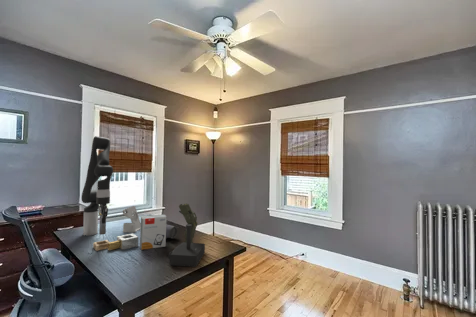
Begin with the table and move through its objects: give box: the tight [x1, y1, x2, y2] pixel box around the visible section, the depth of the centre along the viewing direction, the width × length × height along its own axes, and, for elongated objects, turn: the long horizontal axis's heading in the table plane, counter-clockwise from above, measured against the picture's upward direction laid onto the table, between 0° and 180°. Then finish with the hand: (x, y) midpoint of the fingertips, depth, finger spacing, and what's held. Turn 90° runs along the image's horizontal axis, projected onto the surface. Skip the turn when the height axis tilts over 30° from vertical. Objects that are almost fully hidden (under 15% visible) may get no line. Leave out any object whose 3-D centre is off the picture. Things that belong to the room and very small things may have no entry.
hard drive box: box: [139, 214, 167, 251], centre depth 151 cm, size 16×8×20 cm, turn 117°
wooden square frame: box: [92, 239, 110, 252], centre depth 148 cm, size 8×8×3 cm
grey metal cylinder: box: [98, 212, 107, 235], centre depth 148 cm, size 4×4×14 cm
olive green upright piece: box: [178, 203, 198, 243], centre depth 150 cm, size 14×7×30 cm, turn 71°
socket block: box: [116, 233, 139, 251], centre depth 151 cm, size 10×10×6 cm
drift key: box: [107, 240, 120, 251], centre depth 146 cm, size 2×9×4 cm, turn 135°
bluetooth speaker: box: [166, 224, 178, 240], centre depth 169 cm, size 23×9×10 cm, turn 68°
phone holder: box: [122, 205, 141, 234], centre depth 188 cm, size 17×10×18 cm, turn 175°
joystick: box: [168, 223, 206, 268], centre depth 132 cm, size 19×17×20 cm
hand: (102, 222), depth 148 cm, fingers closed on grey metal cylinder, 3 cm apart
